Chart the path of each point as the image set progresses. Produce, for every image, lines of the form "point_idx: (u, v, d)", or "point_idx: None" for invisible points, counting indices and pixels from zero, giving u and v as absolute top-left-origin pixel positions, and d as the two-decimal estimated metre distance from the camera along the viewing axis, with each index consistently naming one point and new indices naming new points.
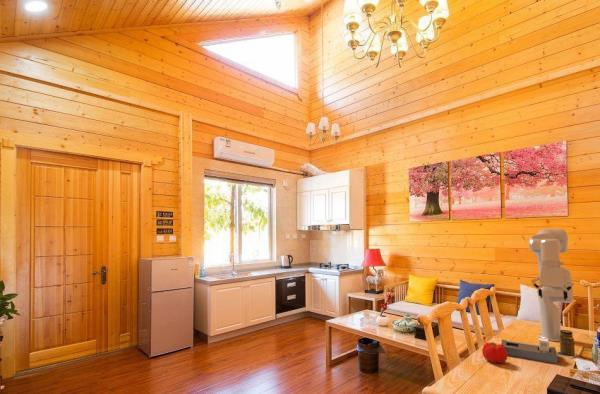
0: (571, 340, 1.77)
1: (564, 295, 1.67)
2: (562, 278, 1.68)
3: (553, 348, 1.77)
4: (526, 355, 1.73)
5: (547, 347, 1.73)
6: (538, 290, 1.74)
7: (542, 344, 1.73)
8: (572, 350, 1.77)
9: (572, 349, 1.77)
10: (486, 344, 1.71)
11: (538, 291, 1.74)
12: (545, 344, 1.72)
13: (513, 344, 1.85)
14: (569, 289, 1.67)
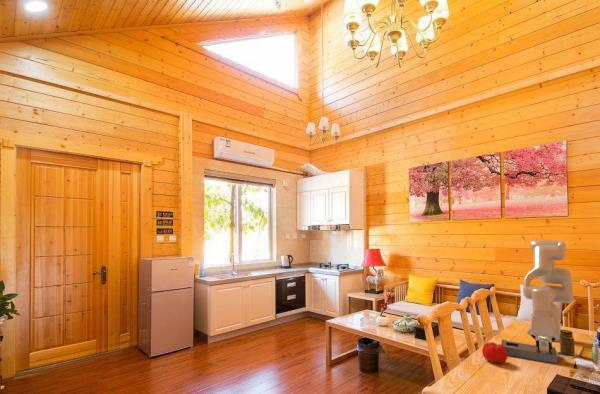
0: (571, 340, 1.77)
1: (549, 346, 1.73)
2: (553, 328, 1.72)
3: (553, 348, 1.77)
4: (526, 355, 1.73)
5: (547, 347, 1.73)
6: None
7: (542, 344, 1.73)
8: (572, 350, 1.77)
9: (572, 349, 1.77)
10: (486, 344, 1.71)
11: None
12: (545, 344, 1.72)
13: (513, 344, 1.85)
14: (553, 340, 1.72)
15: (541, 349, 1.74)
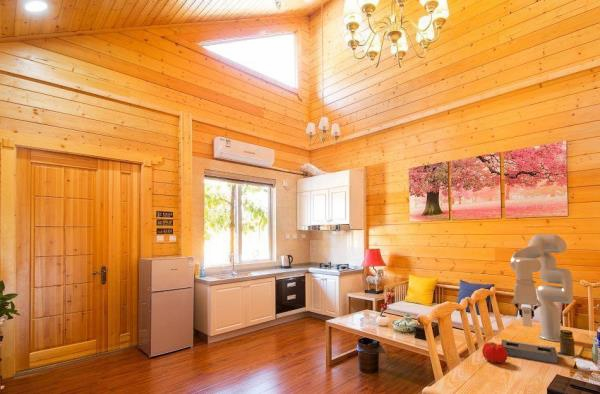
0: (571, 340, 1.77)
1: (531, 314, 1.78)
2: (535, 296, 1.77)
3: (553, 348, 1.77)
4: (526, 355, 1.73)
5: (530, 315, 1.78)
6: None
7: (525, 312, 1.78)
8: (572, 350, 1.77)
9: (572, 349, 1.77)
10: (486, 344, 1.71)
11: None
12: (528, 312, 1.77)
13: (513, 344, 1.85)
14: (535, 308, 1.78)
15: (524, 317, 1.79)
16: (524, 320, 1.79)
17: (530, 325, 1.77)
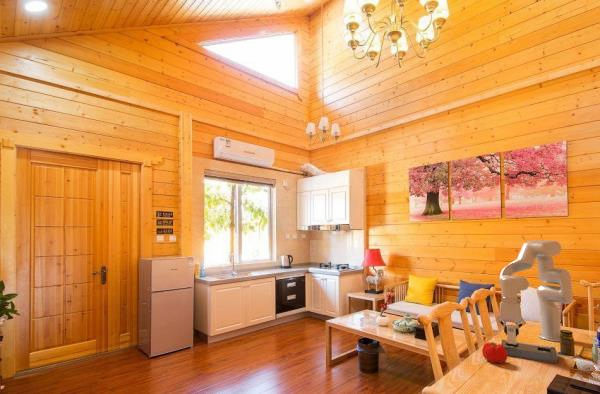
0: (571, 340, 1.77)
1: None
2: (519, 314, 1.80)
3: (553, 348, 1.77)
4: (526, 355, 1.73)
5: (514, 333, 1.81)
6: (504, 327, 1.85)
7: (509, 330, 1.81)
8: (572, 350, 1.77)
9: (572, 349, 1.77)
10: (486, 344, 1.71)
11: (504, 328, 1.85)
12: (512, 330, 1.81)
13: (513, 344, 1.85)
14: (520, 326, 1.81)
15: (508, 335, 1.82)
16: (509, 338, 1.82)
17: (514, 343, 1.80)
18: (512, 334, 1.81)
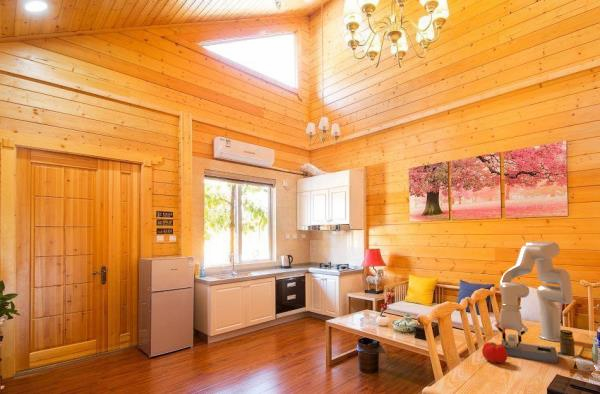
0: (571, 340, 1.77)
1: (518, 339, 1.80)
2: (520, 322, 1.80)
3: (553, 348, 1.77)
4: (526, 355, 1.73)
5: (515, 342, 1.80)
6: (502, 334, 1.85)
7: (510, 339, 1.81)
8: (572, 350, 1.77)
9: (572, 349, 1.77)
10: (486, 344, 1.71)
11: (502, 335, 1.85)
12: (513, 339, 1.80)
13: None
14: (523, 333, 1.80)
15: (509, 344, 1.82)
16: None
17: None
18: (513, 343, 1.81)
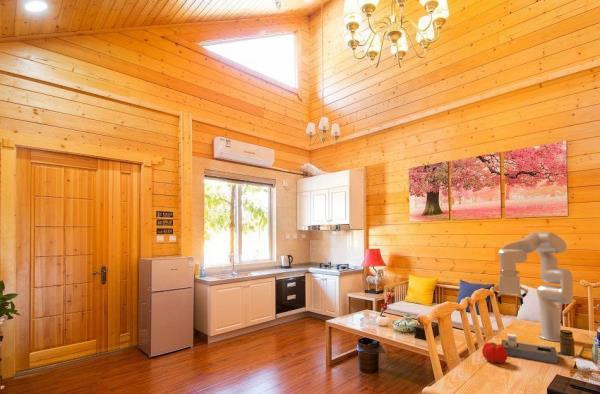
0: (571, 340, 1.77)
1: (520, 301, 1.84)
2: (518, 286, 1.84)
3: (553, 348, 1.77)
4: (526, 355, 1.73)
5: (515, 342, 1.80)
6: (498, 297, 1.90)
7: (510, 339, 1.81)
8: (572, 350, 1.77)
9: (572, 349, 1.77)
10: (486, 344, 1.71)
11: (498, 298, 1.90)
12: (513, 339, 1.80)
13: None
14: (524, 296, 1.83)
15: (509, 344, 1.82)
16: None
17: None
18: (513, 343, 1.81)
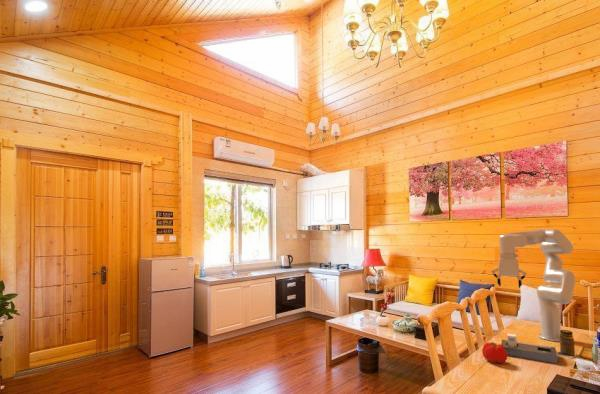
0: (571, 340, 1.77)
1: None
2: (517, 268, 1.91)
3: (553, 348, 1.77)
4: (526, 355, 1.73)
5: (515, 342, 1.80)
6: (497, 279, 1.97)
7: (510, 339, 1.81)
8: (572, 350, 1.77)
9: (572, 349, 1.77)
10: (486, 344, 1.71)
11: (497, 280, 1.97)
12: (513, 339, 1.80)
13: None
14: (523, 278, 1.90)
15: (509, 344, 1.82)
16: None
17: None
18: (513, 343, 1.81)
